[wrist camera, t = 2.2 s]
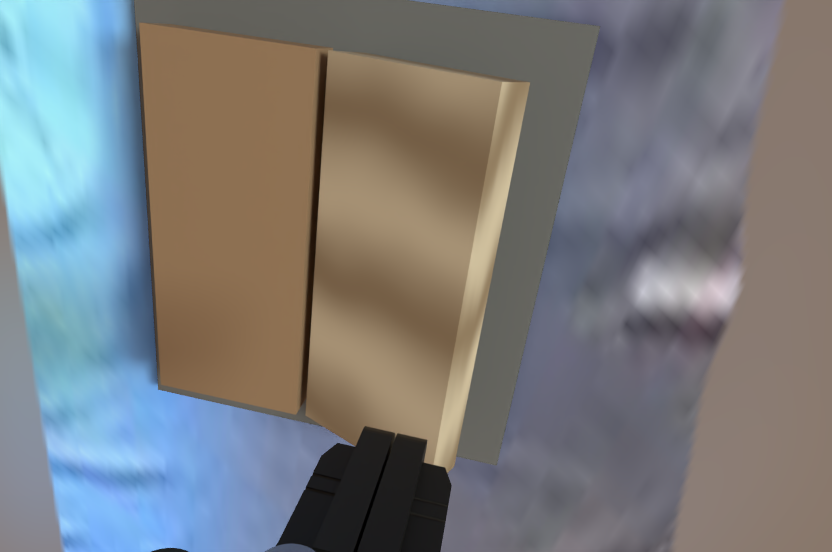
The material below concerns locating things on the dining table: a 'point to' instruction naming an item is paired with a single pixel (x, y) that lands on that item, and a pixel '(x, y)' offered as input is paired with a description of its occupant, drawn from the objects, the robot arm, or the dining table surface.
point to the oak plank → (406, 243)
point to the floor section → (300, 182)
